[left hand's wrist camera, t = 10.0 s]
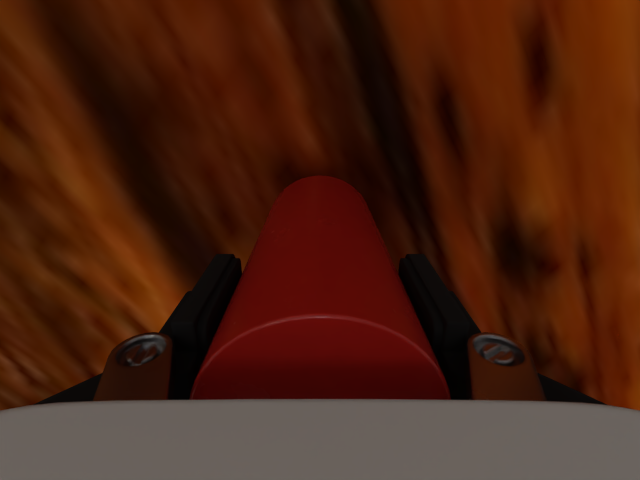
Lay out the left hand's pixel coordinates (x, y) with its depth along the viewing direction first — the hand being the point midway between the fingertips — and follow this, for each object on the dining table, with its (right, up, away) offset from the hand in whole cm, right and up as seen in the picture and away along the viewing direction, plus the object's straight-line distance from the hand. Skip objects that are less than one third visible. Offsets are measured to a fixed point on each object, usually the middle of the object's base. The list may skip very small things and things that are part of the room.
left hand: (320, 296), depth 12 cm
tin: (0, +3, +6) cm, 7 cm away
